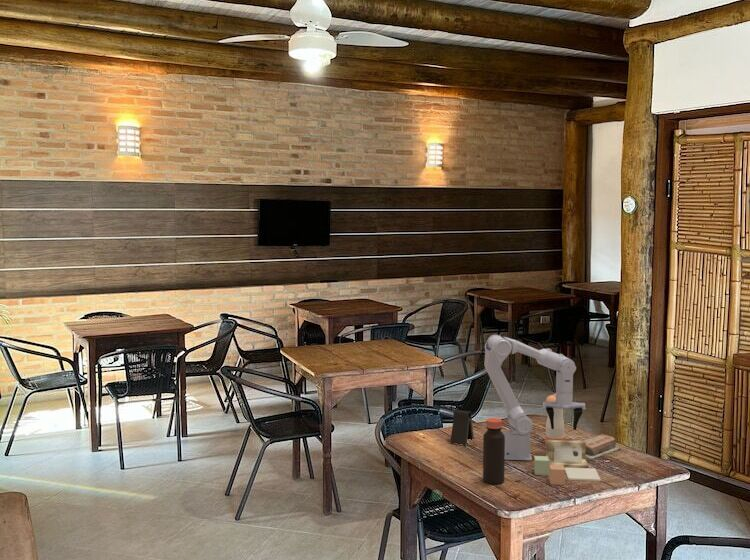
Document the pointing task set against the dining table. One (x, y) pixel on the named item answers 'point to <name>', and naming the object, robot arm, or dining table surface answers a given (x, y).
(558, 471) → the terracotta block
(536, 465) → the sage block
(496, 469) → the bottle
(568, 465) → the beige box
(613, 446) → the packaged product
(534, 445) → the dining table surface
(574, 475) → the mat
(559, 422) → the pepper shaker
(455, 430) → the phone stand
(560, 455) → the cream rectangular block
